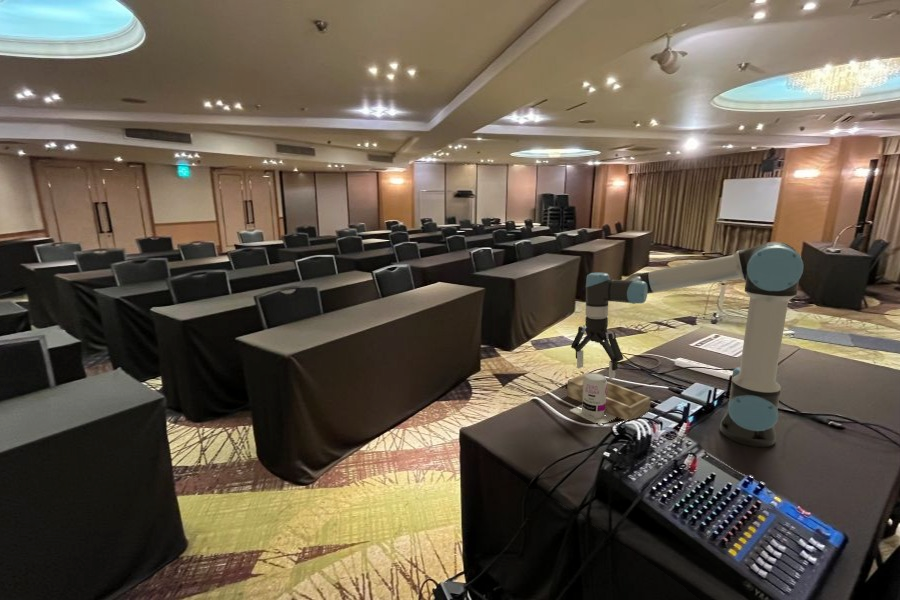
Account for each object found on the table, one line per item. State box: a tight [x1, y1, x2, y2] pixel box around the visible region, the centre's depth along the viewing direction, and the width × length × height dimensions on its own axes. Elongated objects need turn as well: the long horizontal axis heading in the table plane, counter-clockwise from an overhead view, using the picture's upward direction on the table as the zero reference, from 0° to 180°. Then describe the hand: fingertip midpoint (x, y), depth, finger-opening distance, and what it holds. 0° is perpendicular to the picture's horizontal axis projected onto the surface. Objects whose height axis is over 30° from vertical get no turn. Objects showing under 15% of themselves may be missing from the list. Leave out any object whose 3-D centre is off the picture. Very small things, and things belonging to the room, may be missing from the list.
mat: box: [569, 404, 617, 425], centre depth 154 cm, size 14×9×1 cm, turn 35°
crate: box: [566, 371, 651, 420], centre depth 161 cm, size 28×13×7 cm, turn 35°
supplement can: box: [581, 372, 608, 419], centre depth 152 cm, size 8×8×15 cm
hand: (595, 372), depth 150 cm, fingers open, 13 cm apart
